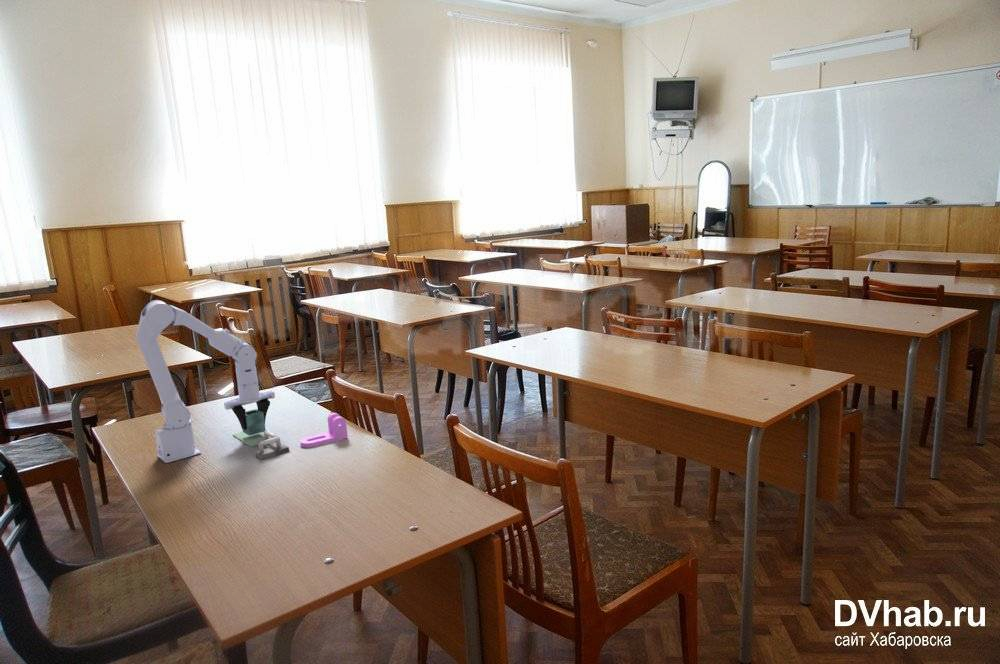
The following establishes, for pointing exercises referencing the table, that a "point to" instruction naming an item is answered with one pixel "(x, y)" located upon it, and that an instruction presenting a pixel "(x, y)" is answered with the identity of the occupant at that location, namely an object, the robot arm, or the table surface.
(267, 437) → the bar handle
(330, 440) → the bracket
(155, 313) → the robot arm
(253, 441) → the end mat
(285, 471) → the table surface
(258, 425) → the collar
